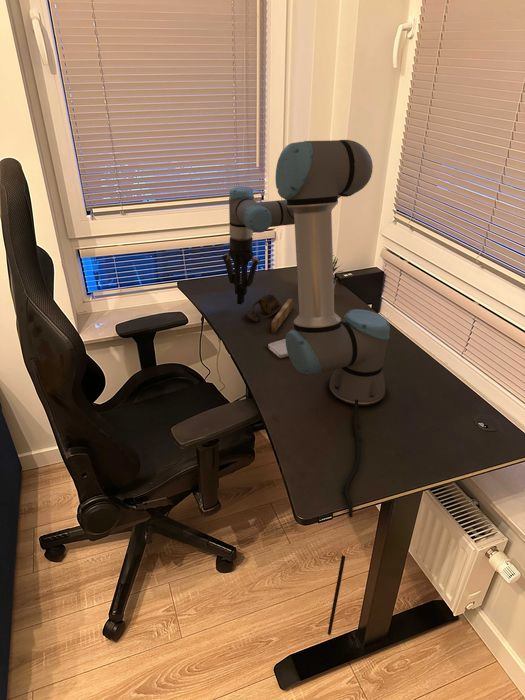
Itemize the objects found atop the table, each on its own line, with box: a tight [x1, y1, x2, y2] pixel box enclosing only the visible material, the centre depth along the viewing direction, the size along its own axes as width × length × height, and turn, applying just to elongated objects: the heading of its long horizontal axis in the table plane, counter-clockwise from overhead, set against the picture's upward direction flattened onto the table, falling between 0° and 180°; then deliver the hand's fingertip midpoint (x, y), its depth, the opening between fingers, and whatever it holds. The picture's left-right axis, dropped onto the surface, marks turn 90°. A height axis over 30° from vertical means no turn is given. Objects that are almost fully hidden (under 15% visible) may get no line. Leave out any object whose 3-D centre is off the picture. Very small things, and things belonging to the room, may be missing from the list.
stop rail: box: [270, 298, 293, 334], centre depth 171 cm, size 18×1×4 cm, turn 159°
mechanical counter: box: [246, 293, 283, 323], centre depth 173 cm, size 7×13×10 cm
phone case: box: [267, 338, 289, 359], centre depth 157 cm, size 7×1×15 cm
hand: (240, 302), depth 174 cm, fingers closed
